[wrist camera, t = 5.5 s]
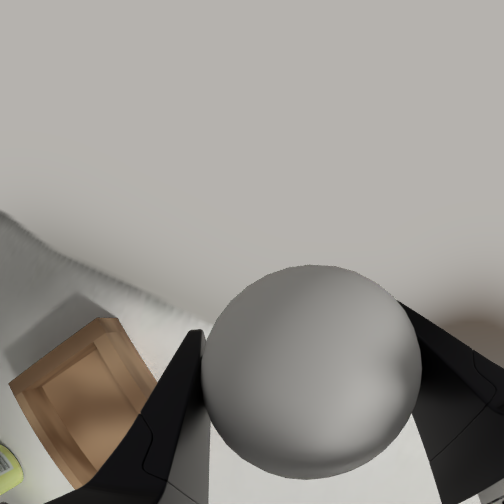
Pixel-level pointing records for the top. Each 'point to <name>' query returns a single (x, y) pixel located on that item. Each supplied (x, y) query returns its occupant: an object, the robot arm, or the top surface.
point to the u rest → (85, 397)
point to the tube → (9, 470)
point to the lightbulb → (311, 372)
